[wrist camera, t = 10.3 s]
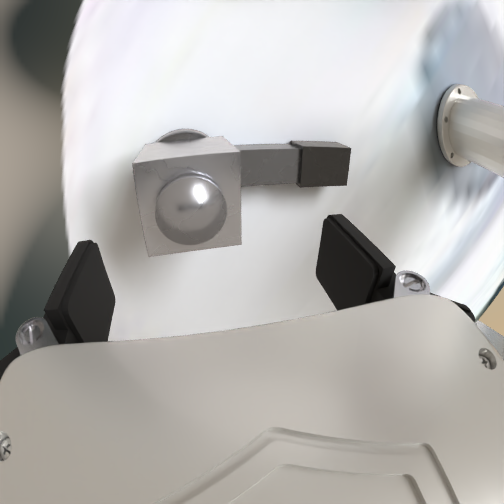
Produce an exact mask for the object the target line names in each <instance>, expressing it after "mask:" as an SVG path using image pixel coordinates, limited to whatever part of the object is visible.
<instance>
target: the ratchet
mask: <svg viewBox="0 0 504 504" xmlns="http://www.w3.org/2000/svg"><path fill="white" fill-rule="evenodd" d="M203 137H209V136H208V135H206V134H204V133H203V132H200V131H198V130H194V129H178V130H174V131H171V132H169V133H167V134H165V135H163V136H162V137H161V138H159V139H158V140H157V141H156V142H155V143H158V142H165V141H173V140H182V139H192V138H203ZM233 146H235V147H236V148H237V149H238V150H239V151H240V163H241V186H254V185H268V184H285V183H296V184H297V185H298V186H299V187H317V186H347V179H348V171H349V162H350V153H351V148H350V147H347V146H345V145H342V144H340V143H337V142H323V141H291V144H253V145H233Z"/></svg>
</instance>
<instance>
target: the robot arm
mask: <svg viewBox="0 0 504 504" xmlns="http://www.w3.org/2000/svg"><path fill="white" fill-rule="evenodd" d="M437 130H438V139H439V144H440V147H441V150H442V153H443V155H444V157H445V158H446V159H447V161H449V162H450V163H451V164H453V165H455V166H458V167H463V166H466V165H468V164H469V163H471V162H473V163H475V164H477V165H479V166H481V167H483V168H485V169H487V170H489V171H491V172H493V173H495V174H497V175H499V176H501V177H503V178H504V106H502V105H499V104H495V103H492V102H489V101H485V100H482V99H479V98H478V97H477V95H476V93H475V92H474V91H473V90H472V89H471V88H470V87H468V86H466V85H462V84H455V85H453V86H451V87H450V88H449V89H448V90H447V91H446V93H445V94H444V96H443V98H442V101H441V103H440V107H439V112H438V122H437ZM395 267H396V266H395V265H394V264H393V263H392V262H391V261H390V260H389V259H388V258H387V257H386V256H385V255H384V254H383V253H382V252H381V251H380V250H379V249H378V248H377V247H376V246H375V245H374V244H373V243H372V242H371V241H370V240H369V239H368V238H367V237H366V236H365V235H364V234H363V233H362V232H360V231H359V230H358V229H357V228H356V227H355V226H354V225H353V224H352V223H351V222H350V221H349V220H348V219H347V218H345V217H344V216H343V215H342V214H337V215H329V216H328V217H327V219H324V222H323V228H322V235H321V242H320V248H319V254H318V260H317V266H316V276H317V279H318V280H319V282H320V284H321V285H322V287H323V288H324V290H325V291H326V293H327V295H328V296H329V298H330V299H331V301H332V303H333V304H334V306H335V307H336V309H337V311H333V312H328V313H323V314H318V315H313V316H308V317H303V318H298V319H292V320H287V321H281V322H276V323H270V324H264V325H258V326H251V327H245V328H238V329H231V330H224V331H217V332H209V333H200V334H192V335H183V336H173V337H162V338H151V339H139V340H125V341H108V336H109V331H110V326H111V321H112V316H113V311H114V306H115V295H114V292H113V290H112V287H111V284H110V281H109V278H108V276H107V273H106V270H105V267H104V264H103V260H102V257H101V254H100V251H99V248H98V245H97V243H93V241H92V240H87V241H80V242H78V243H77V245H76V247H75V248H74V250H73V252H72V254H71V256H70V257H69V259H68V261H67V263H66V265H65V267H64V269H63V271H62V273H61V275H60V277H59V279H58V281H57V283H56V285H55V287H54V289H53V291H52V293H51V295H50V297H49V300H48V302H47V304H46V306H45V309H44V311H45V315H44V318H42V317H34V318H31V319H29V320H27V321H26V322H24V323H23V324H22V326H21V327H20V328H19V330H18V332H17V334H16V343H17V346H18V347H17V348H16V349H14V350H13V351H12V352H11V353H9V354H8V355H7V356H6V357H4V358H3V359H2V360H1V361H0V504H504V337H503V336H502V335H500V334H499V333H497V332H496V331H494V330H492V329H491V328H489V327H488V326H487V325H485V324H483V323H482V322H480V321H479V320H478V321H477V323H475V317H474V315H473V313H472V312H471V310H470V309H469V308H468V307H467V306H466V305H464V304H460V303H457V302H454V301H452V300H449V299H447V298H444V297H441V296H438V295H435V294H432V293H430V287H429V283H428V282H427V280H426V279H425V278H424V277H423V276H421V275H419V274H418V273H415V272H412V271H401V272H399V273H398V274H397V275H396V274H395V273H394V270H395Z"/></svg>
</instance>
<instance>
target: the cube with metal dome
mask: <svg viewBox="0 0 504 504" xmlns="http://www.w3.org/2000/svg"><path fill="white" fill-rule="evenodd" d="M132 166H133V173H134V180H135V187H136V193H137V200H138V205H139V211H140V217H141V222H142V227H143V232H144V237H145V242H146V247H147V251H148V256H149V257H151V256H158V255H166V254H173V253H181V252H188V251H196V250H204V249H211V248H219V247H227V246H234V245H242V242H241V163H240V151H239V150H238V149H237V148H236V147H235V146H233V145H232V144H231V143H230V142H229V141H228V140H227V139H225V138H224V137H223V136H216V137H203V138H192V139H182V140H173V141H165V142H158V143H151V144H145V145H144V147H143V148H142V150H141V151H140V153H139V154H138V156H137V157H136V159H135V160H134V162H133V163H132Z"/></svg>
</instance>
